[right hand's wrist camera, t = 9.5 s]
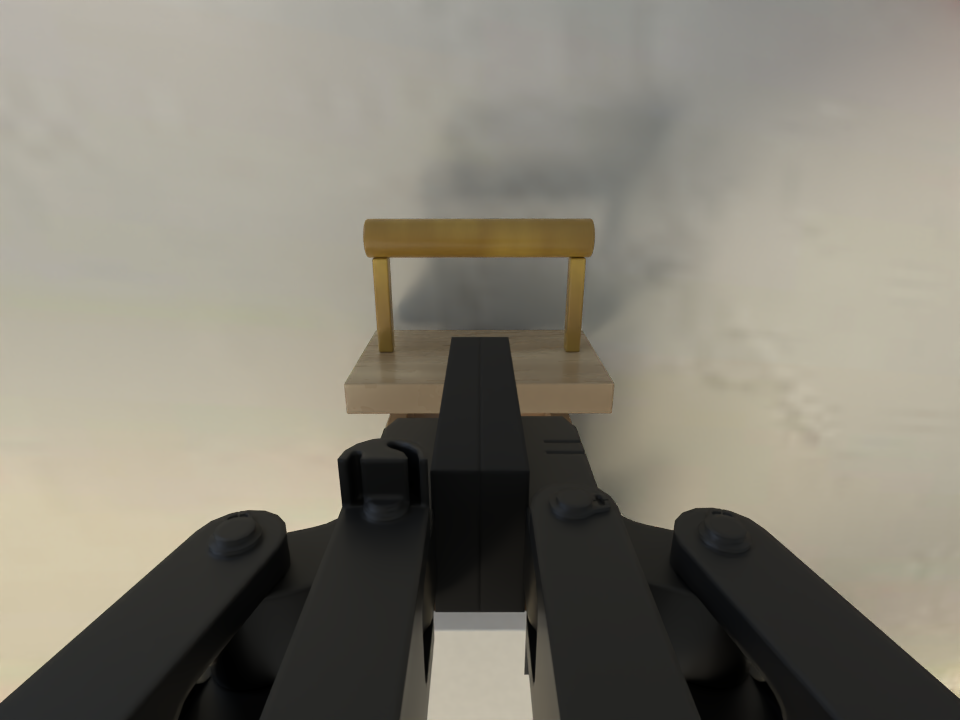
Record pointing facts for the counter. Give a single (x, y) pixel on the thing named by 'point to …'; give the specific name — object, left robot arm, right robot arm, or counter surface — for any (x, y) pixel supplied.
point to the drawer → (424, 353)
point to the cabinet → (479, 667)
